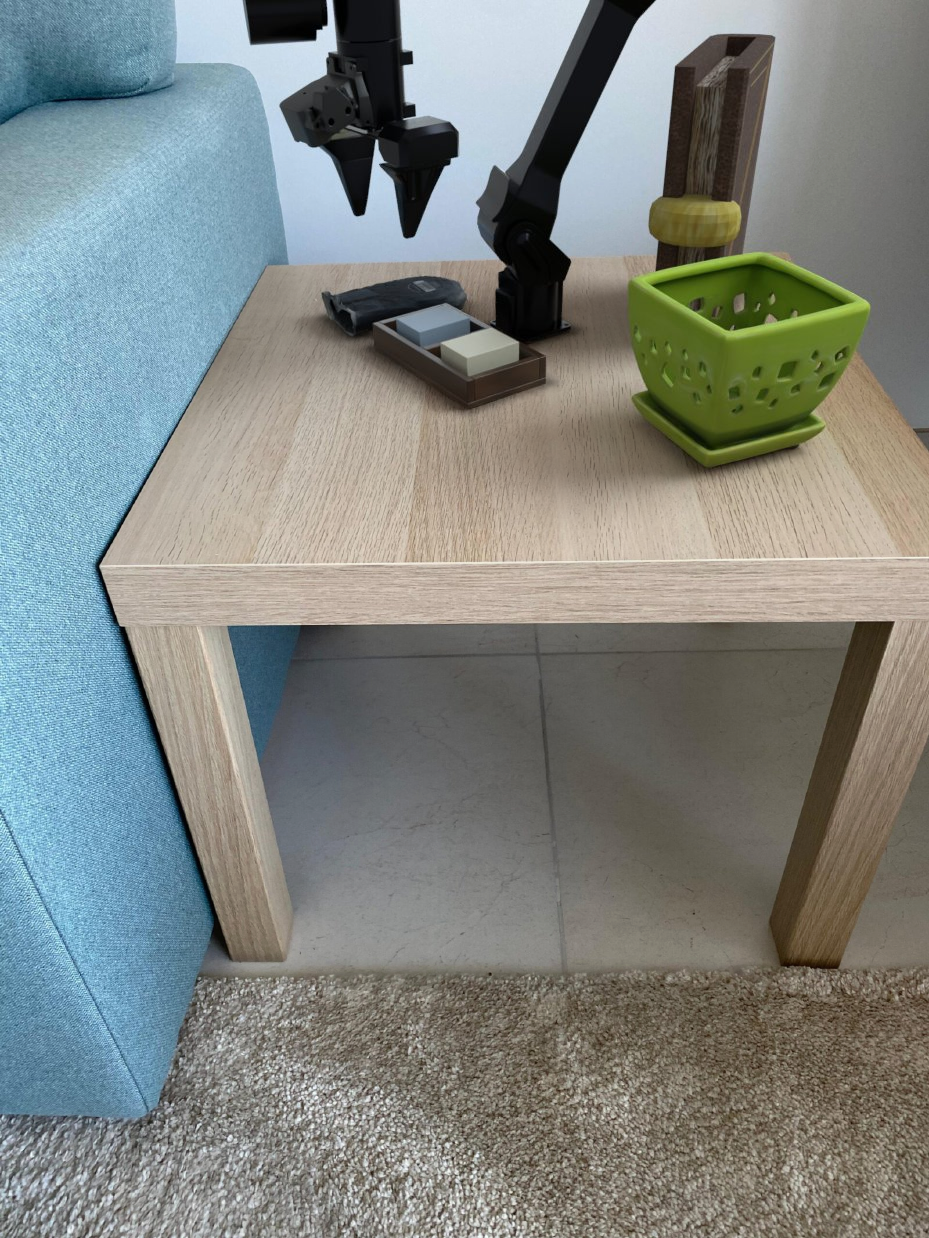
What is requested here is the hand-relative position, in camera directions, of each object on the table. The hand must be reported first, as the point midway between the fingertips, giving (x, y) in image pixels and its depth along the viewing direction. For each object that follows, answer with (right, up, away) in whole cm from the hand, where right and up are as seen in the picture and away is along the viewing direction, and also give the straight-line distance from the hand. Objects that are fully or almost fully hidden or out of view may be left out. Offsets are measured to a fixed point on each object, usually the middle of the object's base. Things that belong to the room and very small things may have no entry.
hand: (383, 226), depth 90 cm
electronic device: (+1, -4, +14) cm, 15 cm away
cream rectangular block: (+9, -14, 0) cm, 17 cm away
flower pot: (+30, -22, -9) cm, 39 cm away
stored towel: (+5, -10, +6) cm, 12 cm away
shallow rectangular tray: (+7, -13, +3) cm, 15 cm away
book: (+33, -6, +11) cm, 35 cm away
